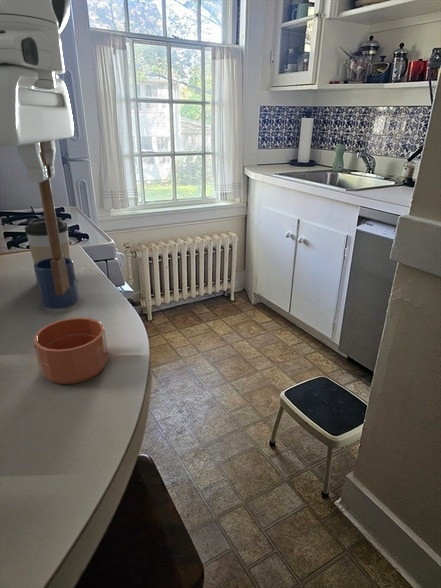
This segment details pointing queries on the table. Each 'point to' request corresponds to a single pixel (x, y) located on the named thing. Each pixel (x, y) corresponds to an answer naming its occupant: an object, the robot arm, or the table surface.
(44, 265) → the crock
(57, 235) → the wooden stirring stick
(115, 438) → the table surface
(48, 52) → the robot arm
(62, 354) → the bowl
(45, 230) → the coffee cup
